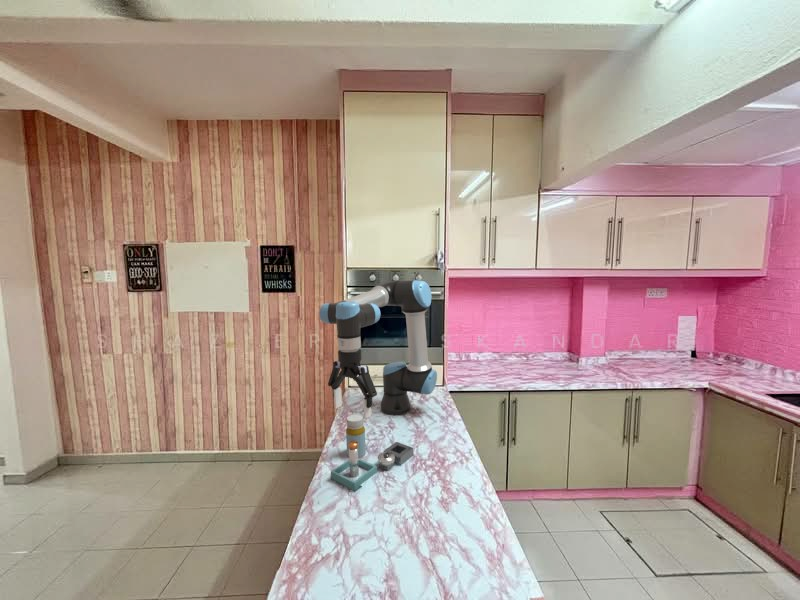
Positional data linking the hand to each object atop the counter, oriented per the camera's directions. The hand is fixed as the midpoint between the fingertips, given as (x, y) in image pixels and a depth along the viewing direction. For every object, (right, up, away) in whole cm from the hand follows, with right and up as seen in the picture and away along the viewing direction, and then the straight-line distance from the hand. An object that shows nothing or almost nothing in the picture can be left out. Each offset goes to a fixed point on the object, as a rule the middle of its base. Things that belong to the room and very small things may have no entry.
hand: (352, 411), depth 114 cm
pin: (0, -22, +2) cm, 22 cm away
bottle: (-1, -22, +15) cm, 27 cm away
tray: (0, -23, +2) cm, 23 cm away
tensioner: (+13, -22, +10) cm, 27 cm away
